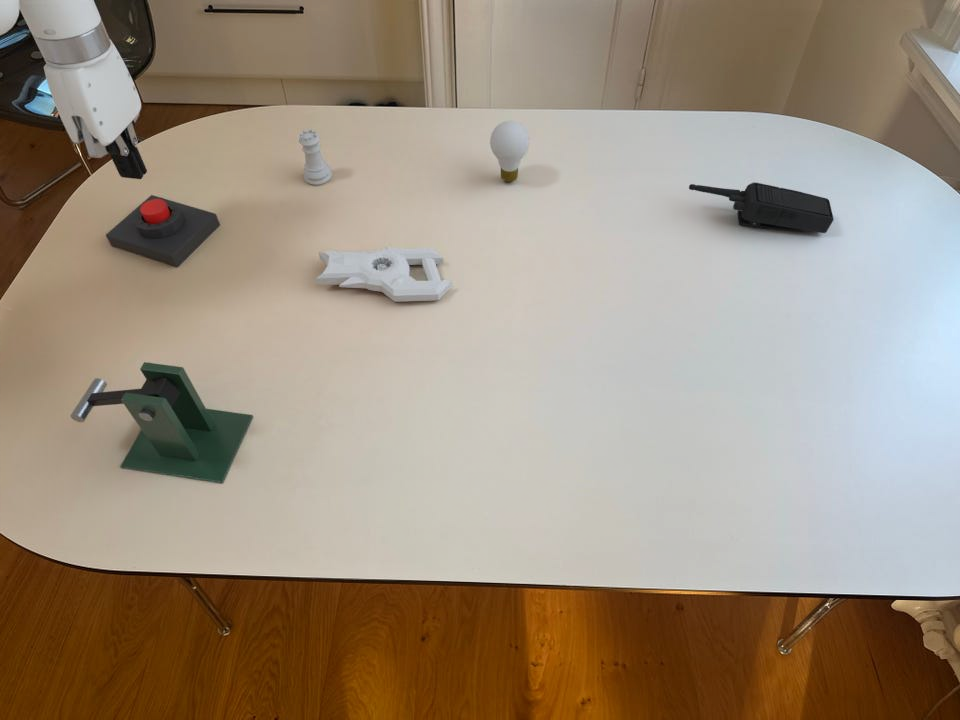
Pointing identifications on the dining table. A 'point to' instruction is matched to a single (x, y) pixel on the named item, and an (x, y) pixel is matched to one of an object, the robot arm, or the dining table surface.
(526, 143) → the light bulb
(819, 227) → the walkie-talkie
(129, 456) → the bracket
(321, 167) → the rook chess piece
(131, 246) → the button box
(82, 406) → the switch lever
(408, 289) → the gun
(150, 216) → the stop button
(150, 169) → the dining table surface
